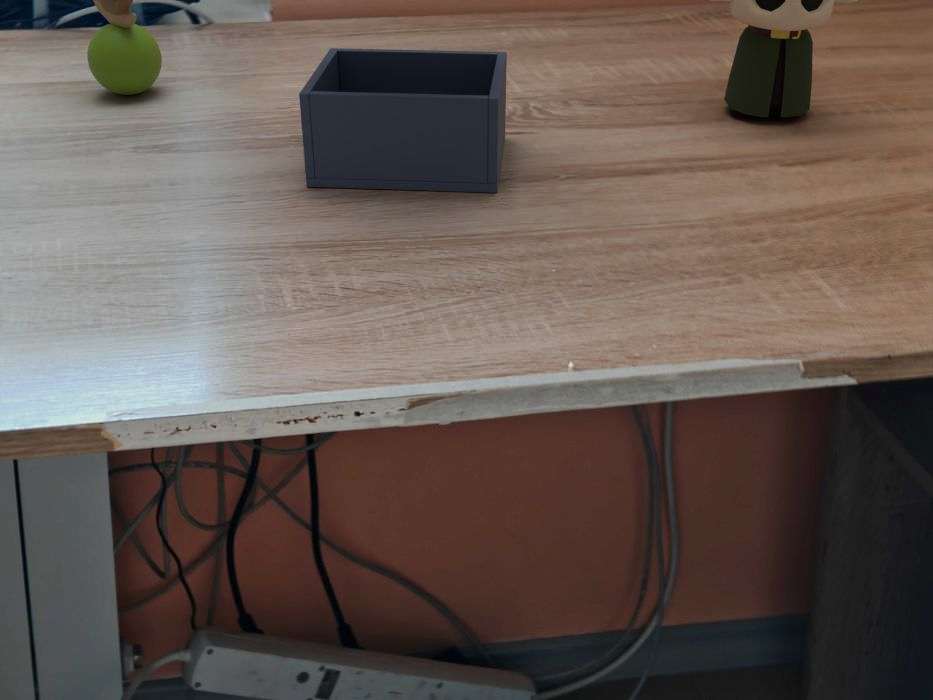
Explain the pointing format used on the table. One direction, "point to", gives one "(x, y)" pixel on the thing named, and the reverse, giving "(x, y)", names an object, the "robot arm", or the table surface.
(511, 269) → the table surface
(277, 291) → the table surface
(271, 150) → the table surface
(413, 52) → the box
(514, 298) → the table surface
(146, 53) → the figurine on green ball
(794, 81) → the green robed panda doll
